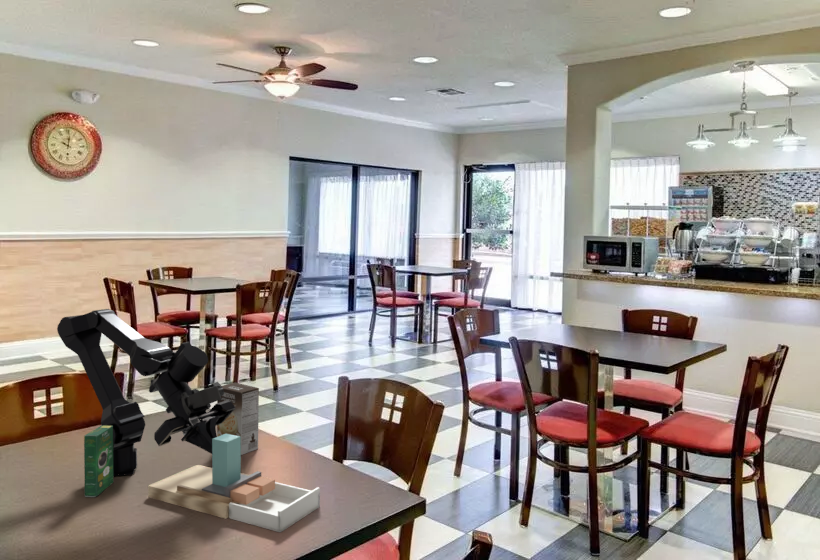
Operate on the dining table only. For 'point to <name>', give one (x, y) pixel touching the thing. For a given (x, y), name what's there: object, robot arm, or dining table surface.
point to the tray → (277, 507)
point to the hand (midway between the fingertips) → (218, 454)
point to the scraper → (227, 466)
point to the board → (191, 491)
